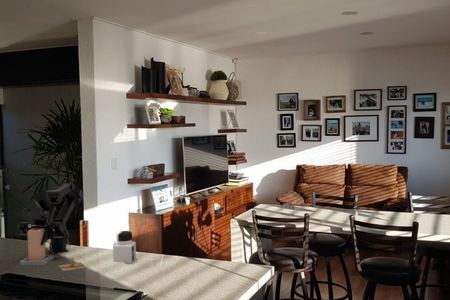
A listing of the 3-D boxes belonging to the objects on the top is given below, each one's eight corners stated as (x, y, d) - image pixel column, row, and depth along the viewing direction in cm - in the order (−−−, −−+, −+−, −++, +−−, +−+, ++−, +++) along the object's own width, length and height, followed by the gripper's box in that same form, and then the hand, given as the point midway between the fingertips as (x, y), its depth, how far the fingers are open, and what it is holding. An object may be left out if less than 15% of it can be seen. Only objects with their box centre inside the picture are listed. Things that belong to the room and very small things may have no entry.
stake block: (58, 267, 187) (58, 257, 187) (81, 264, 192) (80, 254, 192) (62, 273, 180) (62, 262, 179) (85, 269, 184) (85, 258, 184)
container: (136, 259, 199) (135, 229, 198) (131, 264, 191) (130, 233, 191) (119, 258, 200) (118, 229, 199) (113, 263, 192) (112, 233, 192)
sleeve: (34, 258, 197) (33, 228, 196) (45, 258, 196) (44, 228, 196) (28, 261, 192) (27, 231, 191) (40, 261, 191) (38, 231, 191)
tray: (31, 260, 199) (31, 255, 199) (53, 260, 199) (53, 255, 198) (19, 267, 189) (19, 261, 189) (42, 267, 189) (42, 261, 188)
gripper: (19, 204, 198) (6, 235, 187) (60, 203, 196) (49, 234, 186) (28, 218, 206) (16, 248, 195) (68, 218, 204) (58, 248, 194)
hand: (35, 245), depth 192 cm, fingers closed on sleeve, 5 cm apart
